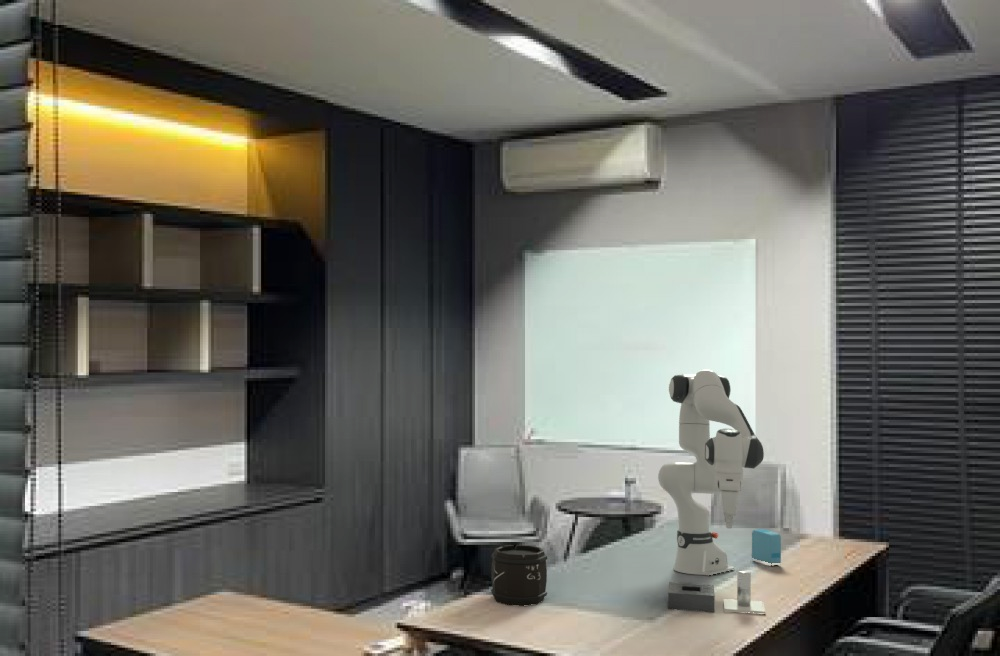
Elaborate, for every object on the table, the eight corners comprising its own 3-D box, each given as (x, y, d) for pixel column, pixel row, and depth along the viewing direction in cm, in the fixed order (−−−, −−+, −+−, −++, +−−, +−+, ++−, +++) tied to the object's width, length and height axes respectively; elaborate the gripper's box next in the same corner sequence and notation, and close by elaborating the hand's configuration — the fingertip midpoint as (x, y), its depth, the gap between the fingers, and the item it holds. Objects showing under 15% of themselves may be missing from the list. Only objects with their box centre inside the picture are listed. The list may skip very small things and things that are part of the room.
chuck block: (669, 597, 300) (669, 581, 300) (713, 600, 297) (713, 584, 297) (667, 609, 286) (667, 592, 286) (714, 612, 283) (714, 595, 283)
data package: (781, 566, 347) (781, 534, 347) (770, 567, 345) (771, 534, 346) (761, 559, 358) (761, 528, 358) (751, 560, 356) (751, 529, 357)
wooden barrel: (504, 589, 307) (505, 541, 308) (554, 596, 299) (555, 547, 300) (479, 602, 291) (480, 551, 292) (531, 609, 283) (532, 557, 284)
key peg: (744, 602, 291) (744, 570, 291) (753, 605, 287) (753, 573, 287) (734, 604, 289) (734, 571, 289) (743, 607, 285) (743, 574, 285)
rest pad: (723, 601, 295) (723, 598, 295) (762, 604, 293) (762, 601, 293) (724, 612, 283) (724, 608, 283) (765, 614, 281) (765, 611, 281)
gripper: (717, 475, 304) (716, 518, 304) (719, 485, 284) (719, 530, 283) (737, 476, 302) (736, 519, 302) (740, 486, 282) (740, 532, 282)
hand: (728, 524), depth 293 cm, fingers open, 8 cm apart
